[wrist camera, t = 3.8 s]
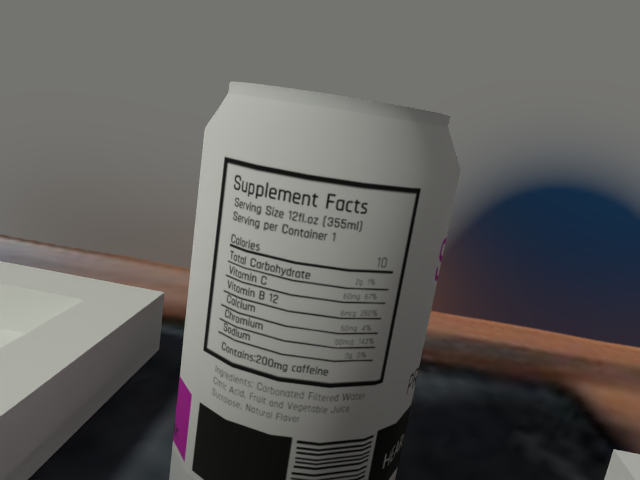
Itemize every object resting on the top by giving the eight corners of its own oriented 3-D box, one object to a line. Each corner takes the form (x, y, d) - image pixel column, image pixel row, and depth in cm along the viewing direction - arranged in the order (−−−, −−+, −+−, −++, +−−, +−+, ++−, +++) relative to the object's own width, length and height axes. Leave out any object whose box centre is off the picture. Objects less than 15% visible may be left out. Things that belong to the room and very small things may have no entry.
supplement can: (128, 476, 21) (160, 71, 17) (294, 419, 26) (343, 105, 23) (246, 647, 15) (330, 90, 11) (427, 527, 20) (520, 128, 17)
